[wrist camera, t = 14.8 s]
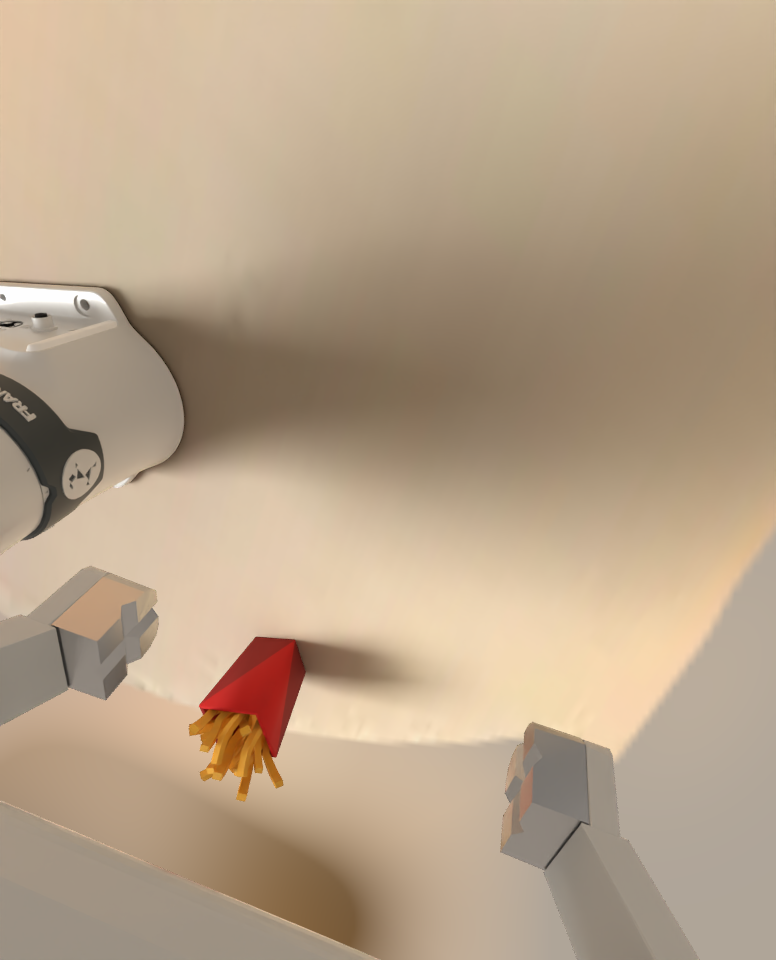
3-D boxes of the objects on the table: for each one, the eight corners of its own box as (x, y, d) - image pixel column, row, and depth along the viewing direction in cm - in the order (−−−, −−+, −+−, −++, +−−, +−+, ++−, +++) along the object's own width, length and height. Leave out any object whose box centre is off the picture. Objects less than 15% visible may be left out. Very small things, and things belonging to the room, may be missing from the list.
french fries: (262, 673, 63) (189, 800, 51) (241, 619, 60) (157, 741, 47) (332, 680, 61) (274, 816, 48) (315, 623, 57) (247, 755, 44)
